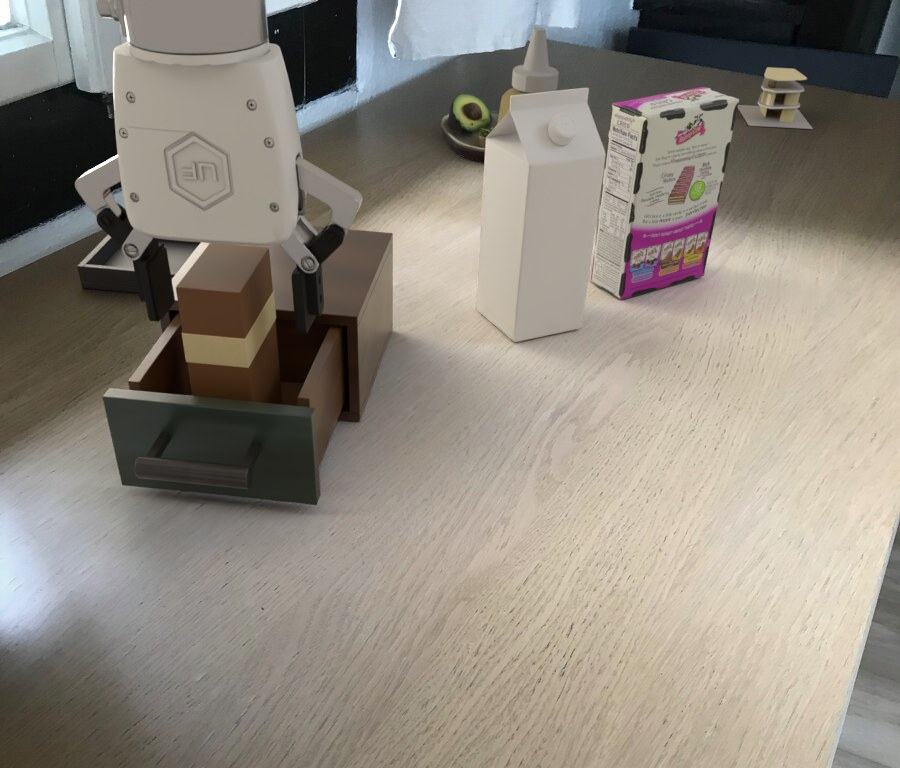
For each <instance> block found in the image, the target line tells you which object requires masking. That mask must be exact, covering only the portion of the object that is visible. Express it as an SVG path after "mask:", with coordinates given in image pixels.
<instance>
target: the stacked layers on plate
mask: <svg viewBox="0 0 900 768" xmlns="http://www.w3.org/2000/svg"><path fill="white" fill-rule="evenodd" d="M763 76H764V78H763V81H762V83H761V87H760V88H761V90H762V92H760V95H759V96H758V97H759V98H758V100H757V105H747V104H738V108H737V110H738V111H739V112H740V114H741V116H742V117H743V119H744V120H745V122H746V124H747V125H748V126H749V127H765V128H766V127H767V128H786V129H787V128H788V129H803V130H804V129H805V130H814V128H813V126H812V125H811V124H810V123H809V122H808V120H807V119H806V117H805V116H804V115H803V114H802V112H801V111H800V110H799V109H798V108H800V107H801V103H800V102H799V100H800V96H801V93H803V92H805V87H804V86H803V85H801V84H800V83H799V82H797V81H806V80H808V77H807V76H805V75H804V74H803V73H801V72H800V71H798V70H797V69H796V68H788V67H787V68H786V67H770V66H768V67H766V69H765V72H764V74H763Z"/></svg>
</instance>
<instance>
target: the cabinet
mask: <svg viewBox="0 0 900 768" xmlns="http://www.w3.org/2000/svg"><path fill="white" fill-rule="evenodd" d="M312 227H313V228H314V229H315V230H316V231H317V233H319V232H320V231H321V230H322V229H323V228H324V227H325V226H316V225H315V226H313V225H312ZM393 239H394V233H393V232H384V231H371V230H362V229H361V230H359V229H351V228H349V230H348V233H347V235H346V237H345V239H344V240H343V242H342V244H341V245H340V246H339V247H338V248H337V249H336V250H335V251H334V252H333V253H332V254H331V255H330V256H329V257H328V258H327V259H326V260H325V261H324V262H323V263H322V277H323V293H324V308H323V312H322V314H321V316H318V315H316V317H315V319H314V321H313V323H319V324H330V325H341V326H346V330H347V359H348V390H349V392H348V394H347V397H346V399H345V402H344V404H343V407H342V410H341V412H340V415H339V417H338V420H339V421H346V422H347V421H348V422H357V423H358V422H361V420H362V418H363V415H364V412H365V408H366V406H367V403H368V400H369V397H370V394H371V392H372V389H373V386H374V383H375V381H376V378H377V375H378V372H379V369H380V366H381V363H382V361H383V358H384V355H385V352H386V349H387V347H388V344H389V341H390V338H391V336H392V332H393V330H394V329H393V328H394V327H393V326H394V322H393V321H394V301H393V300H394V296H393V295H394V243H393V241H394V240H393ZM209 244H210V243H202V242H201V243H200V244H199V246H198V247H197V248H196V249H195V251H194V252H193V253H192V254H191V256H190V257H189V258H188V260H187V261H186V262H185V263H184V265H183V266H182V267H181V268H180V270H179V271H178V272H177V274H176V275H175V276H174V277H173V279H172V285H173V291H174V297H175V302H174V304H173V305H172V307H171V308H170V309H169V311H168V312H167V313H166V315H165V316H164V317H163V318H162V320H161V319H160V320H159V322H160V327H161V333H162V334H163V333H164V331H165V330H166V328H167V327H168V326H169V324H170V323H171V322H172V320H173V319H174V318H175V316H176V315H177V313H178V312H179V305H178V299H177V292H176V286H177V285H178V284H179V283H180V281H181V280H182V279H183V277H184V276H185V275H186V273H187V272H188V271H189V270H190V268H191V267H192V266H193V264H194V263H195V262H196V260H197V259H198V258H199V257H200V255H201V254H202V253H203V251H204V250H205V249H206V247H207V246H208V245H209ZM241 246H245V245H241ZM253 247H265V248H269V251H270V263H271V275H272V286H273V291H274V298H275V310H276V320H286V321H295V315H294V304H293V292H292V280H291V277H292V273H293V271H294V269H295V268H296V263H295V262H294V261H293V259H292V258H291V257H290V256H289V255H288V254H287V253H286V251H285V250H284V249H283V248H282V247H281V246H280V245H279V244H278V245H274V246H253ZM162 334H161V335H162ZM338 420H337V421H338Z"/></svg>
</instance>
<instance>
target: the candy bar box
mask: <svg viewBox="0 0 900 768" xmlns="http://www.w3.org/2000/svg"><path fill="white" fill-rule="evenodd" d="M739 102H740V99H739V98H737V97H734V96H731V95H728V94H725V93H723V92H721V91H718V90H714V89H713V88H711V87H706V86H701V87H696V88H690V89H685V90H678V91H672V92H667V93H661V94H657V95H656V94H655V95H651V96H645V97H639V98H634V99H628V100H625V101H617V102H613V103H612V104H611V112H610V120H609V128H608V135H607V136H608V137H607V138H608V139H607V144H606V145H607V146H606V151H605V153H606V155H605V163H604V170H603V178H602V187H601V193H600V202H599V208H598V218H597V221H598V222H597V228H596V235H595V236H596V237H595V242H594V243H595V244H594V251H593V260H592V268H591V276H590V277H591V278H590V283H592V284H593V285H594V286H596V287H597V288H598V289H601V290H603V291H605V292H606V291H607V292H606V293H609V294H610V295H612V296H614V297H615V298H616V299H619V300H626V299H629V298H630V299H631V298H633V297H637V296H641V295H644V294H647V293H650V292H651V293H652V292H653V291H658V290H662V289H665V288H668V287H671V286H674V285H678V284H681V283H685V282H688V281H692V280H696V279H699V278H701V277H704V276H705V274H706V273H705V272H706V266H707V262H708V258H709V257H708V256H709V251H710V246H711V242H712V236H713V232H714V228H715V221H716V217H717V211H718V207H719V201H720V196H721V191H722V187H723V181H724V178H725V172H726V168H727V162H728V158H729V152H730V147H731V142H732V137H733V132H734V127H735V124H736V123H735V122H736V117H737V112H738V105H739Z"/></svg>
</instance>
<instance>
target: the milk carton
mask: <svg viewBox="0 0 900 768" xmlns="http://www.w3.org/2000/svg"><path fill="white" fill-rule="evenodd" d="M589 92H590V88H589V87H580V88H570V89H560V90H555V91H550V92H540V93H531V94H521V95H512V96H510V109H509V112H508V113H507V114H506V115H505V116H504V117H503V119H502V120H501V121H500V122H499V123H498V124H497V125H496V127H495V128H494V129H493V130H492V131H491V132H490V133H489V135H488V136H487V137H486V146H485V162H483V164H484V166H483V177H482V178H483V181H482V182H483V183H482V194H481V195H482V198H481V211H480V212H481V213H480V229H479V246H478V262H477V263H478V264H477V276H476V277H477V278H476V279H477V280H476V282H477V283H476V295H475V309H476V311H478V313H480V314H481V315H482V316H483V317H484V318H486V320H488V321H489V322H490V323H491V324H493V325H494V326H495V327H496V328H497V329H498V330H499V331H501V332H502V333H503V334H504V335H505V336H506V337H507V338H508V339H510V340H511V341H512V342H513V343H516V342H517V343H518V342H523V341H527V340H532V339H536V338H542V337H546V336H550V335H556V334H561V333H566V332H570V331H575V330H579V329H581V328H582V327H583V320H584V315H585V305H586V299H587V292H588V286H589V285H588V284H589V277H590V271H591V263H592V257H593V256H592V254H593V248H594V243H595V236H596V235H595V234H596V229H597V228H596V226H597V221H598V215H599V207H600V200H601V193H602V186H603V177H604V169H605V161H606V151H605V147H604V144H603V142H602V139H601V136H600V134H599V131H598V128H597V126H596V123H595V120H594V117H593V114H592V112H591V108H590V106H589V103H588V100H589Z"/></svg>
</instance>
